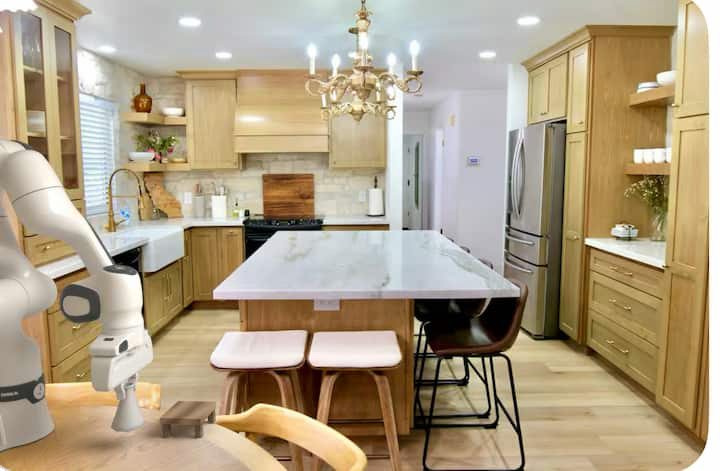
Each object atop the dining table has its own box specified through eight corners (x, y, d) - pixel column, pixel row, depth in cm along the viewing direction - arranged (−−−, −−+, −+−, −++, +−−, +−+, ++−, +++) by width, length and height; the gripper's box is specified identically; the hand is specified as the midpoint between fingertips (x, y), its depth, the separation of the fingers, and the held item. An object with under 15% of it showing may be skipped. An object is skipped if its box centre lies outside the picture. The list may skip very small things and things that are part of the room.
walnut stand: (161, 438, 131) (159, 417, 130) (179, 419, 140) (178, 400, 140) (201, 439, 129) (200, 418, 129) (217, 420, 139) (216, 401, 139)
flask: (104, 429, 125) (102, 387, 124) (130, 416, 132) (127, 376, 130) (127, 435, 122) (125, 392, 121) (152, 422, 129) (150, 381, 127)
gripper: (134, 324, 135) (136, 378, 137) (83, 350, 115) (87, 413, 116) (158, 324, 135) (161, 379, 136) (112, 351, 114) (115, 414, 116)
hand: (126, 395), depth 126 cm, fingers closed on flask, 3 cm apart
